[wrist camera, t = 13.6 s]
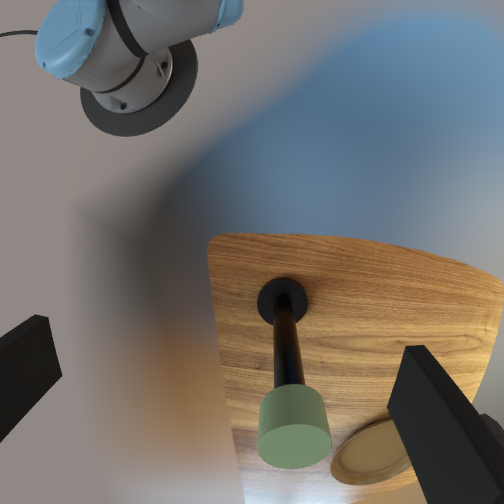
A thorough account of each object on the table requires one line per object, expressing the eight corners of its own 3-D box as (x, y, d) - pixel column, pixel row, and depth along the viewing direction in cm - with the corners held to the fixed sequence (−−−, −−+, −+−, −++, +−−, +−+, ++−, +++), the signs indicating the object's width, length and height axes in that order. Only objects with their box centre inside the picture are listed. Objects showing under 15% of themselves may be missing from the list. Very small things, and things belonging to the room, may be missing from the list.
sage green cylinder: (246, 406, 25) (241, 446, 20) (297, 372, 24) (301, 412, 19) (287, 437, 26) (288, 476, 21) (336, 408, 25) (345, 447, 20)
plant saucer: (438, 438, 56) (443, 446, 53) (358, 486, 61) (360, 495, 58) (402, 392, 53) (407, 401, 50) (307, 450, 58) (308, 461, 54)
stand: (247, 299, 50) (226, 405, 25) (284, 267, 49) (298, 355, 24) (279, 332, 51) (284, 448, 26) (317, 302, 50) (353, 407, 25)
